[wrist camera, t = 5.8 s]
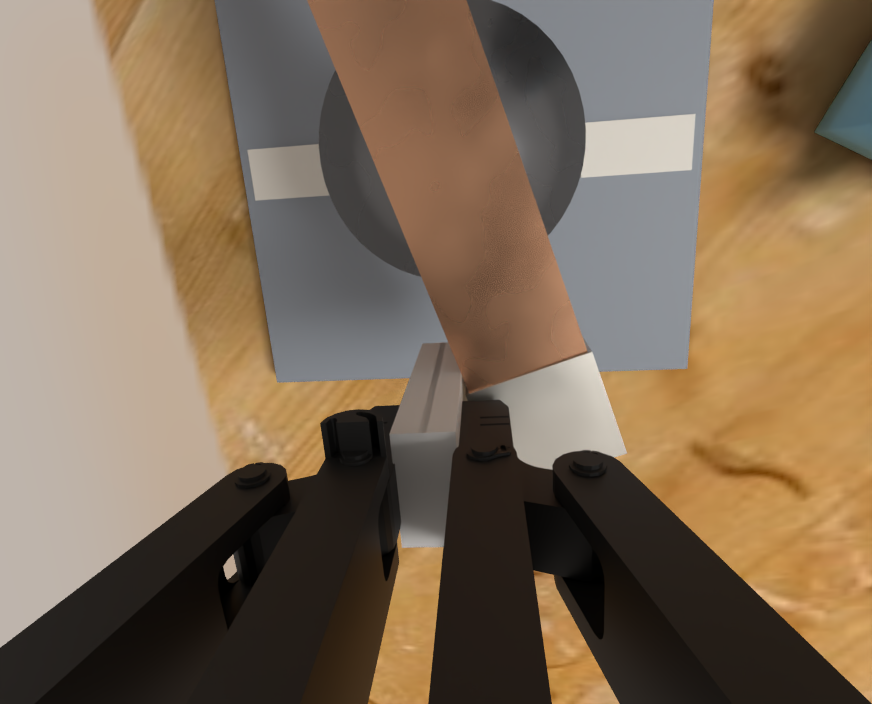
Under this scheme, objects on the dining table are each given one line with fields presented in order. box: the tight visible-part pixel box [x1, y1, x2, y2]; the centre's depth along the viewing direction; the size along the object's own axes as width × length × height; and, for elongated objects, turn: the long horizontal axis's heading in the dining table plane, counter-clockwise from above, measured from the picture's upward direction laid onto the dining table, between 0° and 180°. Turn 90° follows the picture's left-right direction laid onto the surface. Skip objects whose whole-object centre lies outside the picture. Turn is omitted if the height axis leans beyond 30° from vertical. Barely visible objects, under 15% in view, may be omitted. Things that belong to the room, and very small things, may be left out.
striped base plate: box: [215, 0, 714, 382], centre depth 24 cm, size 22×22×8 cm
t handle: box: [307, 0, 627, 470], centre depth 16 cm, size 18×8×7 cm, turn 22°
